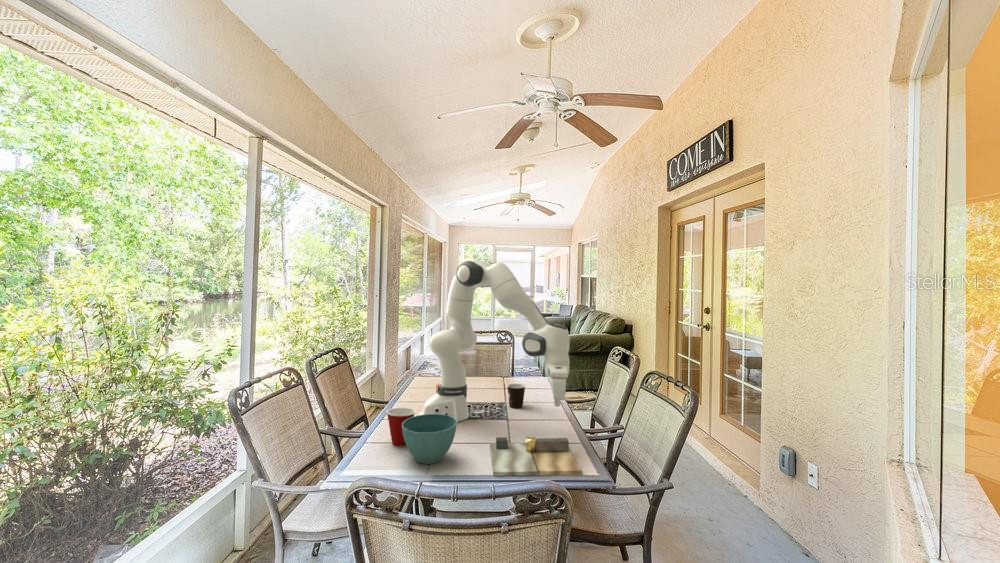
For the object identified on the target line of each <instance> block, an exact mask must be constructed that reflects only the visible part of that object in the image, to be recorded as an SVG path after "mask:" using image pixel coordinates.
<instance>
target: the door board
mask: <svg viewBox="0 0 1000 563" xmlns="http://www.w3.org/2000/svg"><path fill="white" fill-rule="evenodd" d="M489 447H490V448H489V450H490V458H491V460H490V461H491V469H492V475H493V477H503V476H505V477H507V476H508V477H511V476H514V477H515V476H517V477H518V476H555V475H557V476H559V475H560V476H562V475H563V476H565V475H567V476H568V475H582V474H583V470H582V468H581V466H580V464H579V462H578V460H577V459H576V458H575V456H574V454H573V452H572V451H571V448H569V451H551V452H537V450H536V451H535V452H527V451H526V442H508V449H496V442H495V443H493V442H492V443H491V442H490V443H489Z"/></svg>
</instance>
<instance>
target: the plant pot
mask: <svg viewBox="0 0 1000 563" xmlns="http://www.w3.org/2000/svg"><path fill="white" fill-rule="evenodd" d="M457 425H458V422H457V421H456V419H455V418H453V417H451V416H448V415H443V414H425V415H418V414H417V415H414V417H411V418H409V419H407V420H405V421H404V422H403V423H402V430H403V436H404V440H405V443H406V444H405V446H406V448H407V449H408V451H409V453H410V454H411V455H412V457H413V458H414V459H415V460H416V461H417V462H419V463H420V464H426V465H431V464H436V463H438V462H440V461H441V460H443V458H444V457H445V456H446V455H447V453H448V452H449V450H450V448H451V446H452V444H453V442H454V438H455V436H456V432H457Z"/></svg>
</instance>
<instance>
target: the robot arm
mask: <svg viewBox="0 0 1000 563" xmlns="http://www.w3.org/2000/svg"><path fill="white" fill-rule="evenodd" d="M477 288H490V289H491V291H492V293H493V295H494V297H495V299H496V300H497V302H498V303H499V304H500V306H502V308H504V309H507V310H511V311H514V312H516V313H519V314H521V315H522V316H524V317H525V318H526V320H527V321H528V323H529V324H530V326H531V327H532V328H533V330H532V331H529V332H527V333H525V335H523V338H522V341H521V346H522V349H523V352H524V353H525V354H526V355H528V356H529V357H537V358H538V357H540V356H541V357H542V356H543V357H544V359H545V360H544V366H545V367H544V370H545V371H544V372H545V373H546V374H547V375H548V378H550V387H551V391H552V396H553V400H554V402H553V403H554V406H555V407H560V406H561V401H564V400H565V397H566V390H567V389H566V387H567V379H568V377H569V373H570V356H569V351H570V335H569V334H570V333H569V330H568V327H567V326H566V325H564V324H562V323H558V322H548V320H547V319H546V318H545V316H544V314H543V313H542V312H541V310H540V309H539V307H538V306H537V305H536V303H535V302H534V301H533V300H532V299H531V298H530V296H529V295H528V294H527V293H526V291H525V290H524V288H522V286H521V284H520V282H519V281H518V279H517V277H516V276H515V274H514V273H513V272H512V270H511V269H510V268H509V267H508V265H506V263H504V262H501V261H499V262H495V263H494V262H488V261H482V260H479V261H475V260H473V261H471V260H467V261H463V262H461V263H460V264H459V265H457V268H456V271H455V275H454V276H453V278H452V280H451V284H450V287H449V291H448V295H447V296H448V297H447V303H446V309H445V315H446V317H447V318H448V319H449V321H450V328H449V329H448V328H447V329H442V330H439V331H437V332H436V333H433V335H432V336H431V337H430V340H429V348H430V350H431V351H432V353H433V354H434V355H435V356H436V357H437V359H438V362H439V366H440V383H439V382H438V383H436V384H435V387H436V390H435V391H436V392H435V394H433V395H432V396H431V397H429V398H428V399H427V400H426V401H425V402H424V404H423V408H422V410H421V411H420V412H418V414H417V416H418V415H425V414H443V415H448V416H451V417H453V418H455V419H456V421H457V423H458V422H461V421H464V420H467V419H468V418H469V417H470V413H469V409H468V402H467V397H468V384H467V367H466V365H465V364H464V363H463V362H462V361H461V357H460V353H464V352H467V351H469V350H471V349H472V348H474V347H475V346H476V344H477V342H478V340H477V339H478V337H477V333H476V332H475V330H474V329H473V326H472V311H473V302H474V295H475V292H476V289H477Z"/></svg>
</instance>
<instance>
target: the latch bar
mask: <svg viewBox="0 0 1000 563" xmlns="http://www.w3.org/2000/svg"><path fill="white" fill-rule="evenodd" d="M525 443H526V451H527V452H535V451H536V450H537V452H551V451H569V449H570V447H569V446H570V444H569V443H570V441H569V439H568V438H567V437H552V438H551V437H549V438H548V437H547V438H543V437H541V438H536V437H534V436H527V437H525Z"/></svg>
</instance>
